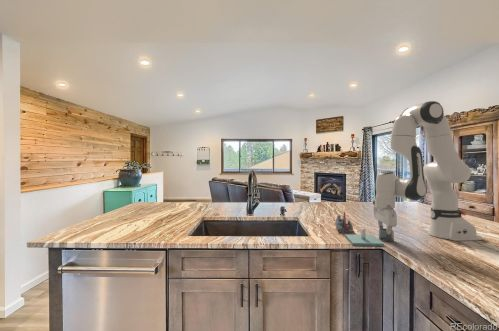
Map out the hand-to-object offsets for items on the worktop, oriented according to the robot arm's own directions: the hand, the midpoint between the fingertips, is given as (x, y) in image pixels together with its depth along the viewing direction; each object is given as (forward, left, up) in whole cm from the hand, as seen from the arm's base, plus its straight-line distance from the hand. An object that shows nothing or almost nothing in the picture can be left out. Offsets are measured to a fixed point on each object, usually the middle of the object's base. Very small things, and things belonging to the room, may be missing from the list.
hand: (384, 231), depth 130 cm
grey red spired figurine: (+16, -16, -5) cm, 23 cm away
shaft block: (+11, +3, -4) cm, 12 cm away
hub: (-1, 0, -4) cm, 4 cm away
